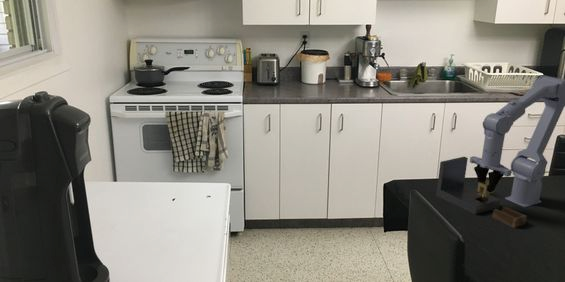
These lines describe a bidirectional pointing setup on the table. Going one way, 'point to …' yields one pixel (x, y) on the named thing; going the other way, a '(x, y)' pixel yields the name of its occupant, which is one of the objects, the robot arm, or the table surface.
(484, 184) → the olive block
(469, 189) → the dark grey l-shaped block
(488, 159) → the robot arm
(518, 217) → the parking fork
